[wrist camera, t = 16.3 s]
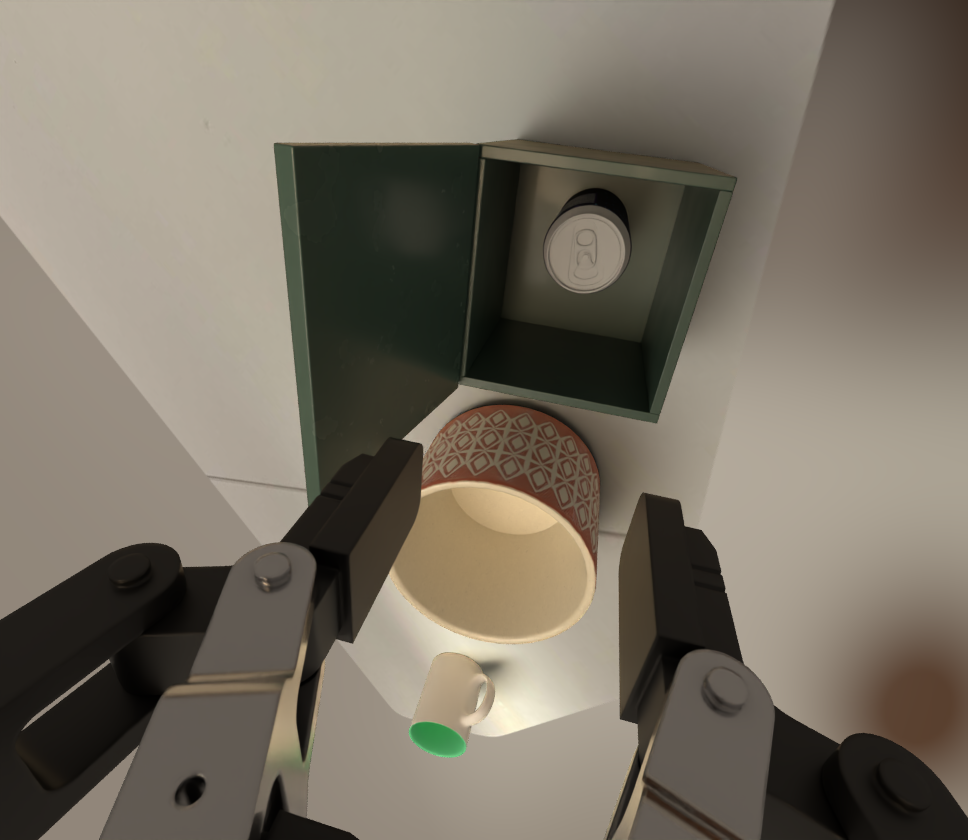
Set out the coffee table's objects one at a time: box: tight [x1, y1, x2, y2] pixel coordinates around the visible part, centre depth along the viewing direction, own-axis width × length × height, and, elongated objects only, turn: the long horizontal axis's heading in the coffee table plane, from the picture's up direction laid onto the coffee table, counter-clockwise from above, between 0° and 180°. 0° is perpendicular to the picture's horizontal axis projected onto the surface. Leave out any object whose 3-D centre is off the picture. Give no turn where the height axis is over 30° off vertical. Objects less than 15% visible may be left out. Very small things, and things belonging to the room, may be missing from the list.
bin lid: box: [274, 143, 479, 507], centre depth 26 cm, size 15×15×1 cm
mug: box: [409, 653, 495, 757], centre depth 72 cm, size 12×8×10 cm
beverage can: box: [543, 188, 632, 294], centre depth 37 cm, size 6×6×12 cm
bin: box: [458, 139, 737, 423], centre depth 38 cm, size 14×15×14 cm
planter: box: [389, 405, 600, 644], centre depth 51 cm, size 19×19×15 cm
